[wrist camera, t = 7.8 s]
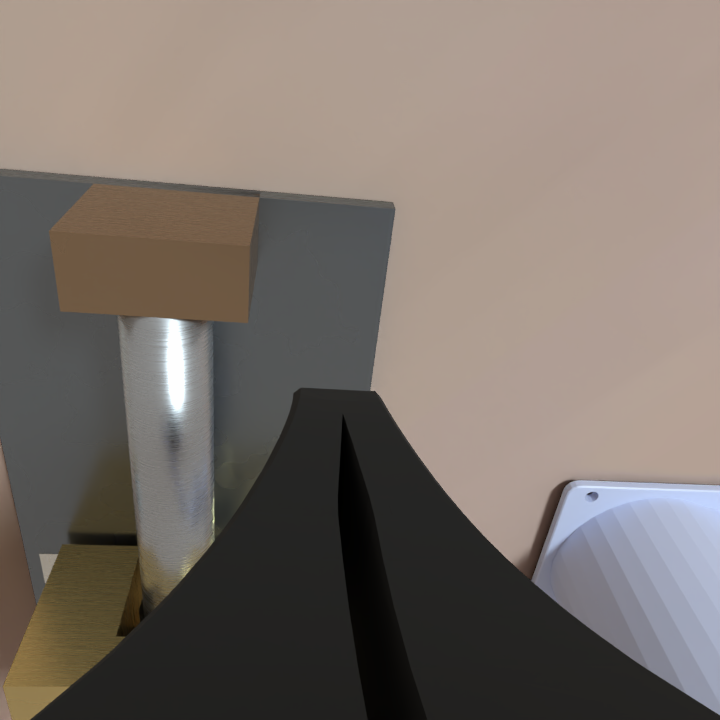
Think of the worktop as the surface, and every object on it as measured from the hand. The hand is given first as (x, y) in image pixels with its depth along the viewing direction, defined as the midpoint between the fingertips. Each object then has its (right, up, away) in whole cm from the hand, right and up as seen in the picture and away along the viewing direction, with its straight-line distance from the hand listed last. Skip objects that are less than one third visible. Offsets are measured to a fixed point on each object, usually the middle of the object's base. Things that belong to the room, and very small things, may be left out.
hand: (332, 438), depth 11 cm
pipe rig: (-6, -3, +13) cm, 15 cm away
